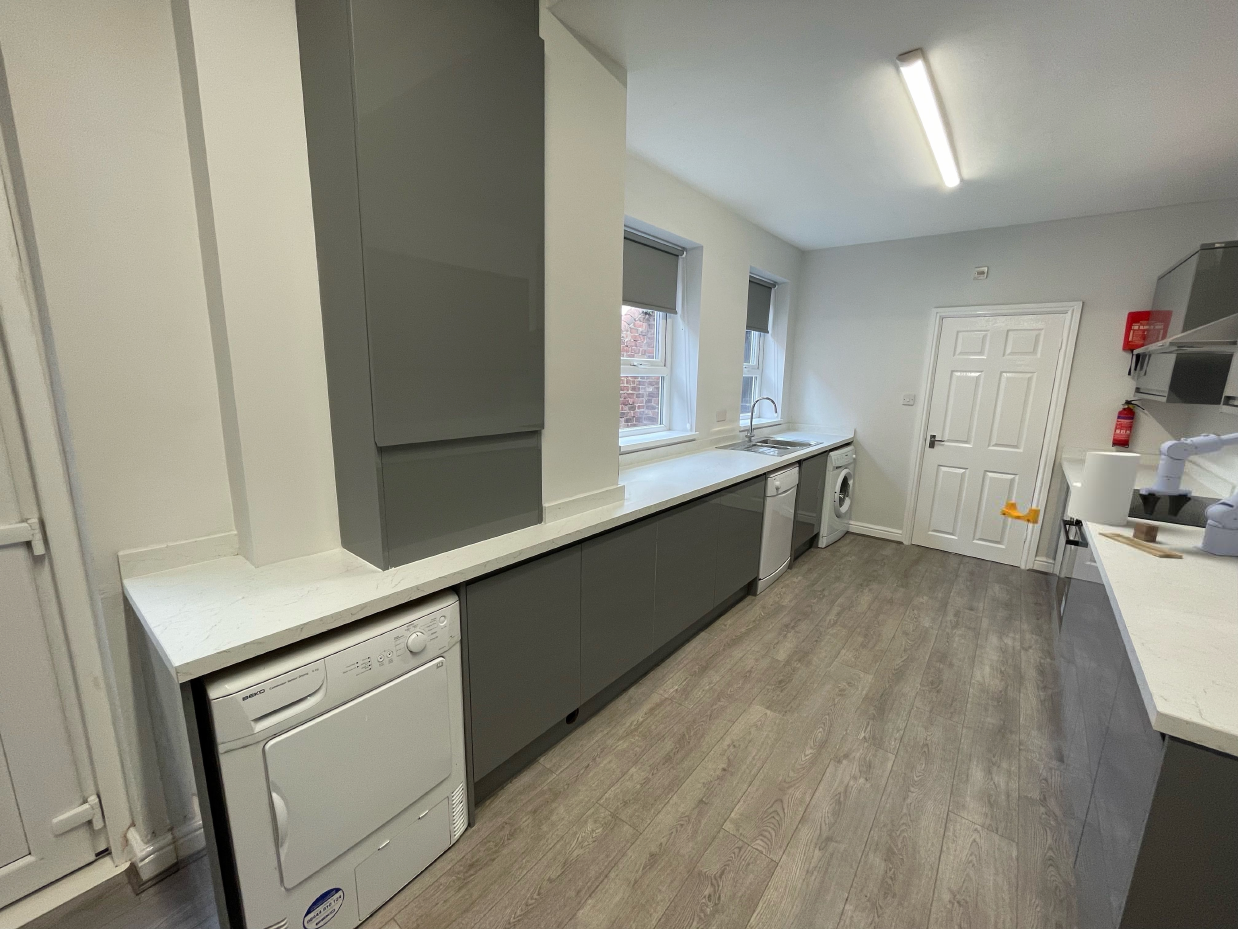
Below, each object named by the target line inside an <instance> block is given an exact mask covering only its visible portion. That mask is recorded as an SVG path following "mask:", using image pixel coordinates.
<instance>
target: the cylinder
mask: <svg viewBox="0 0 1238 929" xmlns="http://www.w3.org/2000/svg"><path fill="white" fill-rule="evenodd" d="M1141 457H1142V455H1141V454H1140V453H1134V452H1114V451H1113V452H1112V451H1111V452H1109V451H1108V452H1106V451H1104V452H1103V451H1099V452H1098V451H1087V452H1086V456H1085V461H1084V467H1083V473H1082V477H1081V482H1073V483H1072V487H1071V494H1070V498H1069V501H1068V502H1069V503H1068V508H1067V513H1066V515H1067V516H1068V517H1070V518H1073V519H1076V520H1079V521H1083V522H1087V523H1092V524H1098V525H1107V526H1125V525H1127V522H1128V517H1129V513H1130V507H1131V504H1132V500H1133V495H1134V494H1133V493H1134V489H1135V485H1136V480H1137V475H1138V470H1139V467H1140V461H1141Z"/></svg>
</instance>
